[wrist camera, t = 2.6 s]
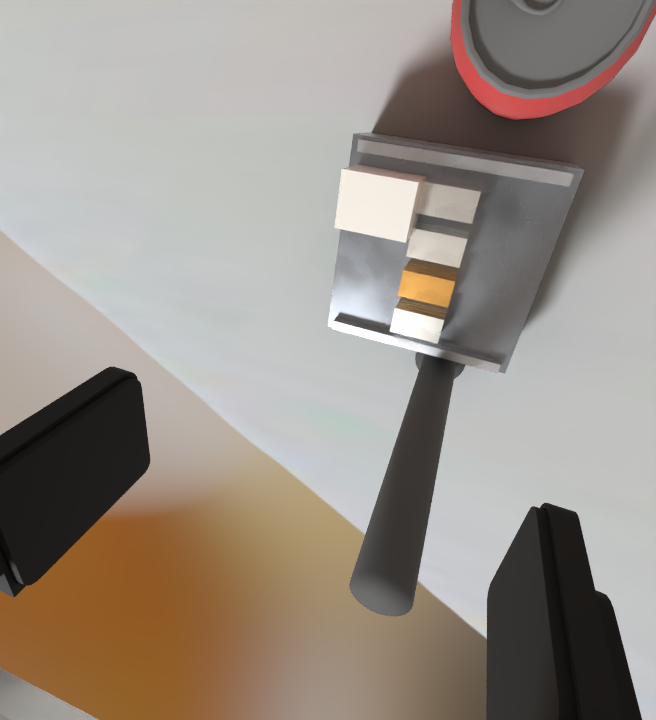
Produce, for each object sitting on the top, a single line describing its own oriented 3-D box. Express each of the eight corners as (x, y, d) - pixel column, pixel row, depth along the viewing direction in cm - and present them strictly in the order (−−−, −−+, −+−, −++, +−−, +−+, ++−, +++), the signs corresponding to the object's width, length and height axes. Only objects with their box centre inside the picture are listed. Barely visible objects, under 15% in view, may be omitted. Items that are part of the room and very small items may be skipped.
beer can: (514, -57, 21) (526, -215, 11) (636, 1, 21) (761, -113, 11) (444, 89, 25) (407, 65, 15) (547, 141, 24) (579, 152, 15)
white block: (427, 176, 24) (418, 182, 21) (415, 231, 25) (405, 242, 23) (357, 164, 25) (341, 168, 22) (350, 217, 26) (334, 227, 24)
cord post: (472, 341, 31) (440, 585, 15) (458, 381, 33) (417, 639, 17) (423, 328, 32) (341, 546, 16) (412, 369, 34) (329, 602, 17)
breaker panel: (573, 163, 25) (590, 172, 20) (504, 346, 31) (505, 386, 26) (371, 132, 27) (344, 134, 23) (344, 306, 33) (319, 335, 29)
